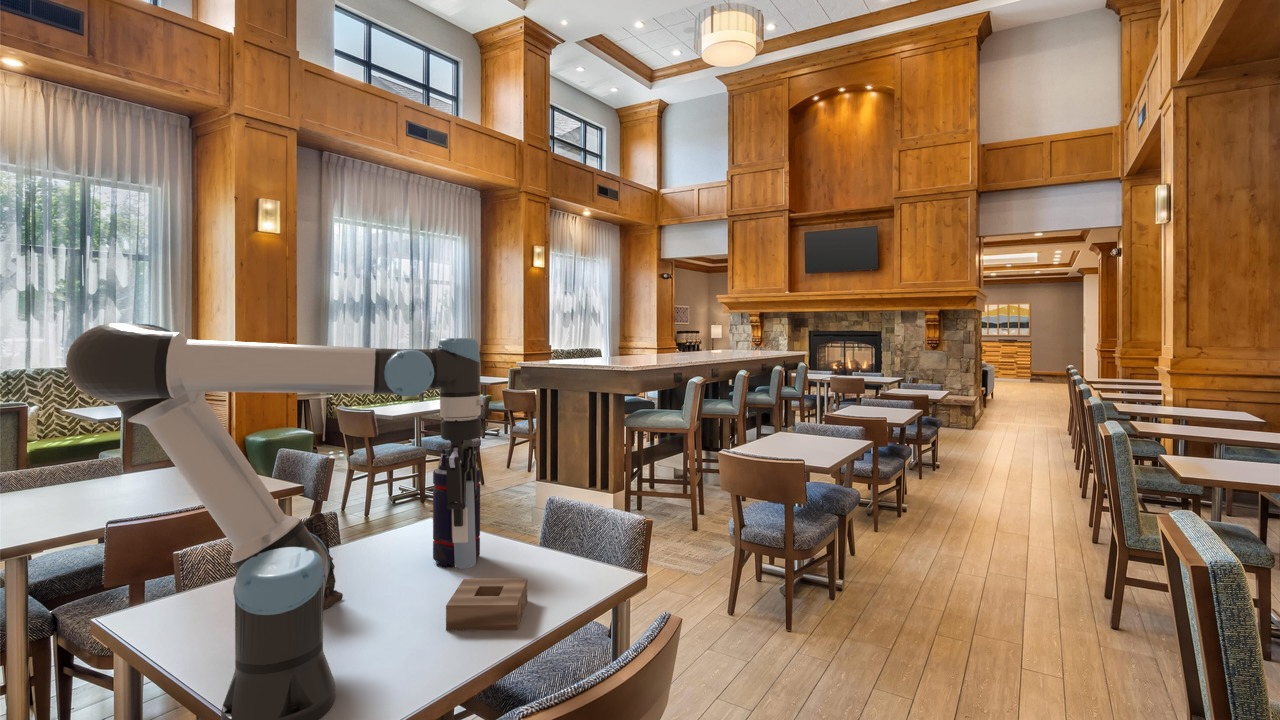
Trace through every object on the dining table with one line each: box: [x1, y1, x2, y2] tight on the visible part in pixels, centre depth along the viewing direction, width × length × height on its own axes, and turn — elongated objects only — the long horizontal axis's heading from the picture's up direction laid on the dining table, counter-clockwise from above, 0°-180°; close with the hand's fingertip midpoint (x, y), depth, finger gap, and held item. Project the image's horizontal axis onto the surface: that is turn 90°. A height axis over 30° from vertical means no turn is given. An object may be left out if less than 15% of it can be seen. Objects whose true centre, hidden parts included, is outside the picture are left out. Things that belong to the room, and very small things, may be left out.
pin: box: [454, 480, 477, 570], centre depth 117 cm, size 4×4×16 cm
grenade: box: [432, 447, 481, 568], centre depth 158 cm, size 14×12×30 cm
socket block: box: [445, 577, 528, 631], centre depth 127 cm, size 14×14×5 cm
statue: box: [302, 512, 344, 611], centre depth 132 cm, size 7×7×20 cm
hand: (463, 537), depth 117 cm, fingers closed on pin, 4 cm apart
